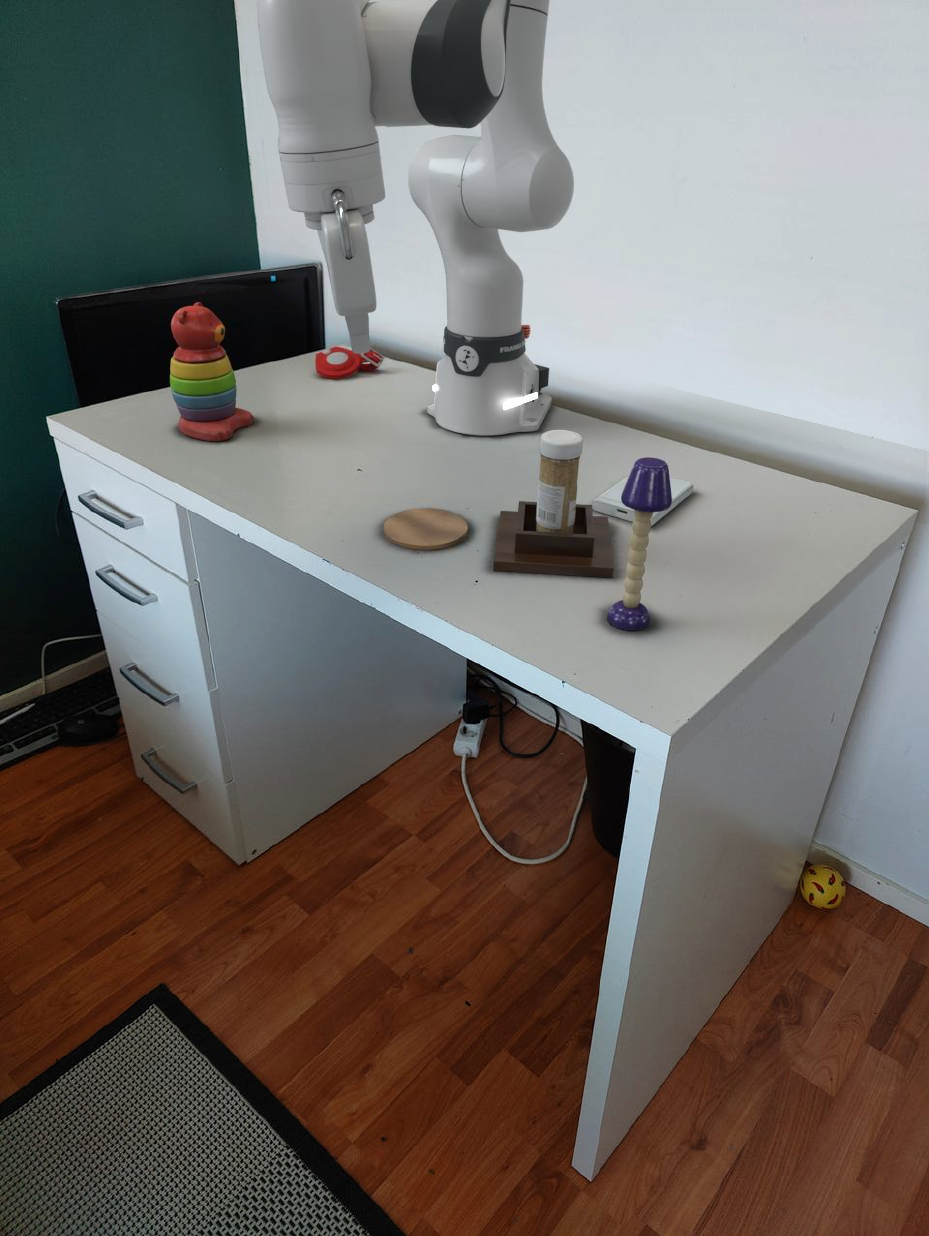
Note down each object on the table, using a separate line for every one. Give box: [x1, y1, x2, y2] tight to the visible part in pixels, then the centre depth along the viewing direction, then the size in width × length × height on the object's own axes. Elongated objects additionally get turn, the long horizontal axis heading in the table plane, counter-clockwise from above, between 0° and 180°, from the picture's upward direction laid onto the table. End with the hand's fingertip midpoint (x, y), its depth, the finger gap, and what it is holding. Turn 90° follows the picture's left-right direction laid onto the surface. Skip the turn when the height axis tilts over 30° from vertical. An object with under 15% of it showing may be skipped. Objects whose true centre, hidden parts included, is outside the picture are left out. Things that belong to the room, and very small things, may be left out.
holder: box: [492, 500, 614, 578], centre depth 99 cm, size 13×13×4 cm
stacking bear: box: [169, 301, 255, 442], centre depth 126 cm, size 11×10×18 cm
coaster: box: [383, 507, 469, 551], centre depth 102 cm, size 10×10×1 cm
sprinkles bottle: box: [536, 429, 584, 534], centre depth 96 cm, size 5×5×14 cm
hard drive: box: [592, 475, 694, 527], centre depth 110 cm, size 2×8×12 cm
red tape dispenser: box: [314, 346, 385, 380], centre depth 156 cm, size 12×4×10 cm
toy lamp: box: [606, 456, 672, 631], centre depth 82 cm, size 5×5×17 cm
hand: (357, 336), depth 85 cm, fingers open, 8 cm apart
